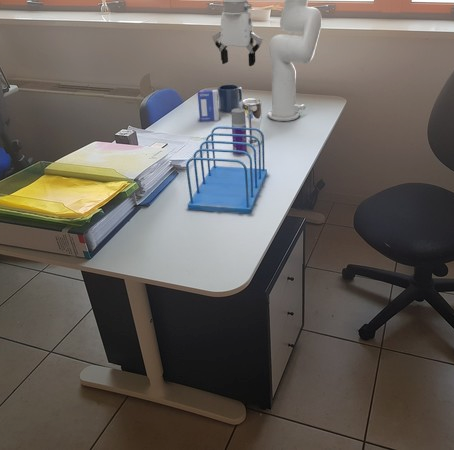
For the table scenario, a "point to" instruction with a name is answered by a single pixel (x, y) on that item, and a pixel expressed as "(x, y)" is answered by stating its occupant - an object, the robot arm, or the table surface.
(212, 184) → the file sorter
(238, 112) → the container
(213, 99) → the blue white carton
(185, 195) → the table surface
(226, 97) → the coffee mug
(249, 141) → the beer glass
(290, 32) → the robot arm
